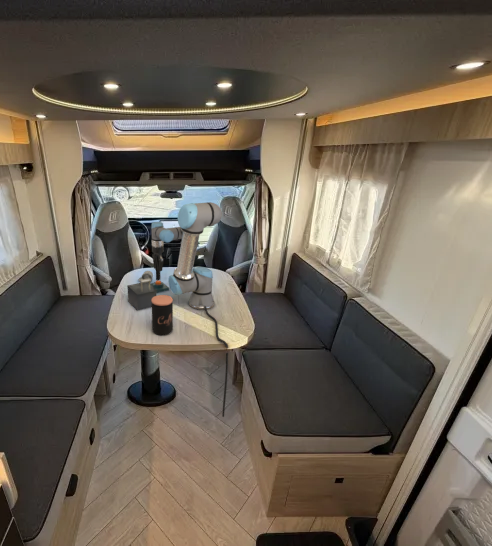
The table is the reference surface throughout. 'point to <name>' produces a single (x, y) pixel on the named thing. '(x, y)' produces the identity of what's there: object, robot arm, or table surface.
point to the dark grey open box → (140, 300)
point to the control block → (160, 287)
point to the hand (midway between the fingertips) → (158, 279)
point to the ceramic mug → (146, 276)
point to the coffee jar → (162, 314)
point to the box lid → (142, 287)
